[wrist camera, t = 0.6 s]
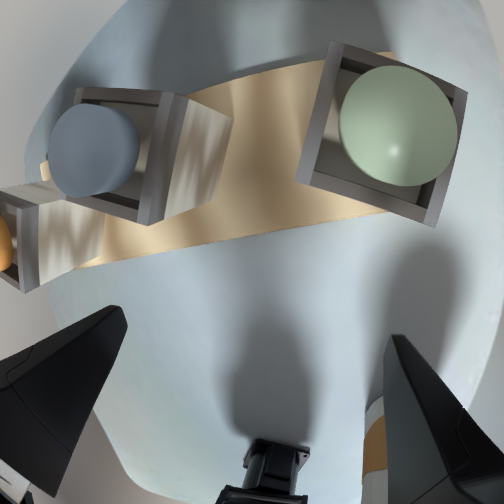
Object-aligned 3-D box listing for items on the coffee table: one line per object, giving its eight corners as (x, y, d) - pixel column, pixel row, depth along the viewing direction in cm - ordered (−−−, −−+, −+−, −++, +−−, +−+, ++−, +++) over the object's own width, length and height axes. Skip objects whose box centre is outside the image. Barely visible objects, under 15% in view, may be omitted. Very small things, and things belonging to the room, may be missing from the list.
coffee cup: (372, 445, 27) (375, 562, 13) (340, 403, 26) (336, 542, 12) (441, 414, 25) (472, 530, 10) (420, 365, 24) (463, 503, 10)
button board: (424, 203, 20) (496, 236, 10) (72, 268, 29) (-3, 307, 19) (391, 55, 18) (435, -12, 8) (46, 164, 26) (-36, 175, 16)
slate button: (131, 200, 13) (104, 206, 11) (71, 183, 14) (43, 188, 12) (148, 111, 12) (121, 106, 10) (83, 106, 12) (56, 102, 10)
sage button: (422, 197, 11) (441, 203, 9) (326, 163, 11) (328, 163, 9) (445, 102, 9) (465, 93, 7) (350, 67, 10) (355, 49, 8)
